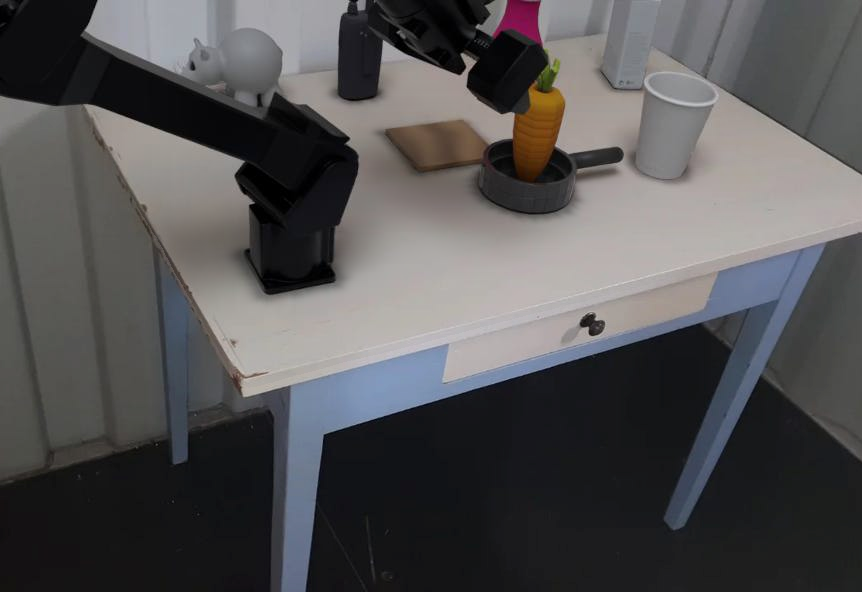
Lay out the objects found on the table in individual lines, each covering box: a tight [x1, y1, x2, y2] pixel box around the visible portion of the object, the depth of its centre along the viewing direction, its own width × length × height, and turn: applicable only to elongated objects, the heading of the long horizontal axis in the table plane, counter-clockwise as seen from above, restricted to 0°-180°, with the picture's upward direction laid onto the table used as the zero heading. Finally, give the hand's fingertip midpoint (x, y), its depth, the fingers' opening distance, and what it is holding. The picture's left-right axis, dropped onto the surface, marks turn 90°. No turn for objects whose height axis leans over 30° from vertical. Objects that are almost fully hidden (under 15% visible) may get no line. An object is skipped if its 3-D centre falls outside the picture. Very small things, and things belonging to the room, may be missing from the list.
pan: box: [478, 137, 578, 214], centre depth 98 cm, size 10×10×4 cm
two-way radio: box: [337, 0, 384, 100], centre depth 107 cm, size 6×4×15 cm
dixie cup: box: [634, 71, 720, 180], centre depth 104 cm, size 8×8×10 cm
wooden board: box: [384, 119, 490, 173], centre depth 104 cm, size 10×9×1 cm
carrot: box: [512, 47, 566, 183], centre depth 94 cm, size 5×5×15 cm
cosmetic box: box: [600, 0, 662, 90], centre depth 122 cm, size 6×4×12 cm
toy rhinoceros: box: [173, 27, 284, 107], centre depth 103 cm, size 7×12×8 cm, turn 117°
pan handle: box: [567, 146, 625, 170], centre depth 101 cm, size 8×2×2 cm, turn 119°
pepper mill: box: [491, 0, 544, 83], centre depth 113 cm, size 7×7×20 cm
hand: (493, 90), depth 87 cm, fingers open, 9 cm apart
